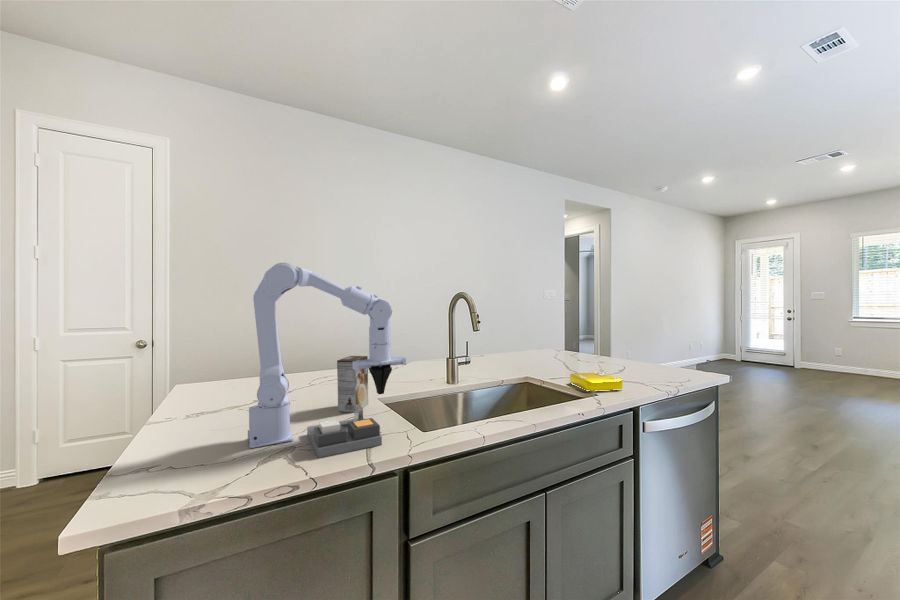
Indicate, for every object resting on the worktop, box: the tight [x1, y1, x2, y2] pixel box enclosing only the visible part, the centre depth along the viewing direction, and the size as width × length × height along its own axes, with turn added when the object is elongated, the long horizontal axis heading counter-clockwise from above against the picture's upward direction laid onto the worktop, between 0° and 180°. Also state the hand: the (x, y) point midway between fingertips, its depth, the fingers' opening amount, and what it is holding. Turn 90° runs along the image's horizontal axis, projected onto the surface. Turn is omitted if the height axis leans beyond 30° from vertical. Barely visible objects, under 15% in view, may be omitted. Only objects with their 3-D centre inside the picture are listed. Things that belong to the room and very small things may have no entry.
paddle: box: [353, 405, 364, 421], centre depth 99 cm, size 1×4×4 cm, turn 29°
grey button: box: [318, 419, 340, 434], centre depth 87 cm, size 4×4×2 cm
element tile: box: [569, 371, 624, 391], centre depth 145 cm, size 15×15×5 cm
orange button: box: [353, 418, 374, 428], centre depth 91 cm, size 4×4×2 cm
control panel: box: [306, 417, 383, 459], centre depth 93 cm, size 15×16×4 cm
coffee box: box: [336, 355, 369, 413], centre depth 119 cm, size 9×6×16 cm
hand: (380, 393), depth 101 cm, fingers closed
